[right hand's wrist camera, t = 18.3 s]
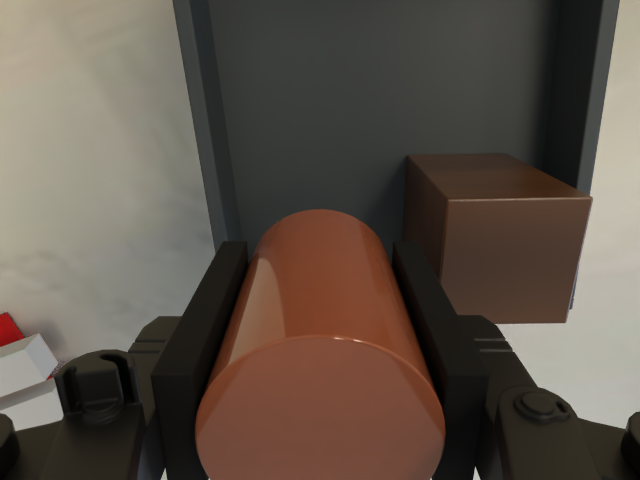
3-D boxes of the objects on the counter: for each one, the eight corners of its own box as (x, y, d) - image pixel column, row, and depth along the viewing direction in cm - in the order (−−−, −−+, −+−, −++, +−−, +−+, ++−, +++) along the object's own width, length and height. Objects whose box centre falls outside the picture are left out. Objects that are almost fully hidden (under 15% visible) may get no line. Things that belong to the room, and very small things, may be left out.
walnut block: (406, 154, 20) (446, 199, 14) (507, 152, 20) (595, 197, 14) (401, 246, 22) (435, 325, 16) (494, 245, 22) (567, 324, 16)
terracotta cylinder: (295, 180, 14) (274, 288, 7) (418, 255, 15) (499, 411, 8) (224, 296, 15) (151, 472, 9) (340, 357, 16) (355, 560, 9)
